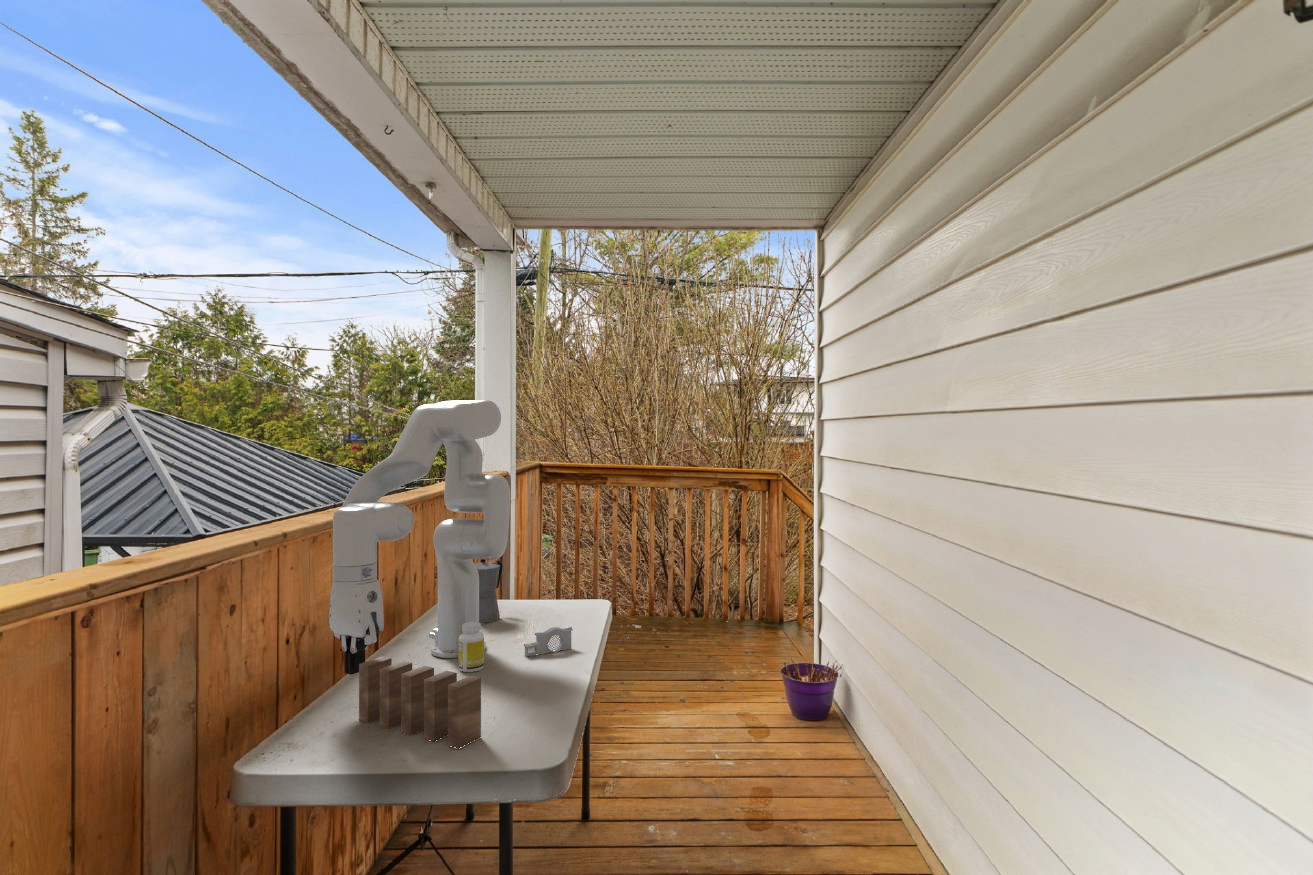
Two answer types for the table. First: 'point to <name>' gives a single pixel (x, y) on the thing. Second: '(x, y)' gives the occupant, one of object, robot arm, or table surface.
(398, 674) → the domino
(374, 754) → the table surface
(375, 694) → the domino
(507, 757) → the table surface
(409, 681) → the domino
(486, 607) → the coffeepot
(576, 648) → the table surface
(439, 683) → the domino
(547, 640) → the garden wall model
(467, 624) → the supplement bottle
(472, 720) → the domino
